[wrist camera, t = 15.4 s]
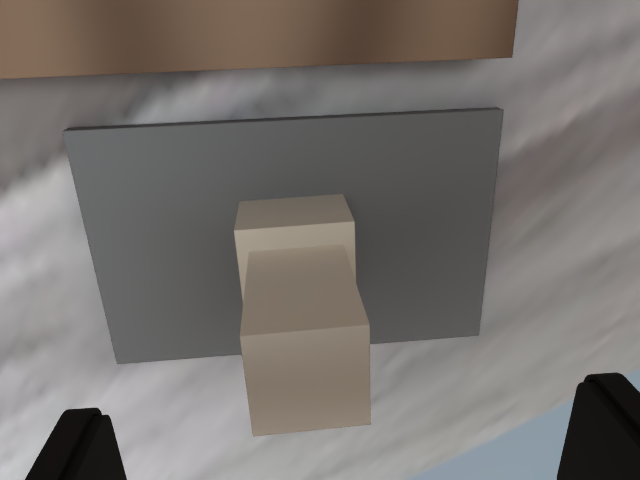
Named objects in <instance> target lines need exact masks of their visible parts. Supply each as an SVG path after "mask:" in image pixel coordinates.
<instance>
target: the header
mask: <svg viewBox="0 0 640 480" xmlns="http://www.w3.org/2000/svg"><path fill="white" fill-rule="evenodd" d="M518 1H519V0H0V79H7V78H31V77H55V76H79V75H104V74H128V73H152V72H176V71H200V70H224V69H248V68H272V67H296V66H320V65H345V64H369V63H393V62H417V61H441V60H465V59H489V58H512V55H513V46H514V37H515V28H516V19H517V10H518Z"/></svg>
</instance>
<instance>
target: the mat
mask: <svg viewBox="0 0 640 480" xmlns="http://www.w3.org/2000/svg"><path fill="white" fill-rule="evenodd" d="M502 119H503V109H500V108H497V107H494V108H473V109H453V110H432V111H411V112H391V113H370V114H349V115H328V116H308V117H287V118H266V119H246V120H225V121H204V122H183V123H163V124H142V125H121V126H101V127H80V128H68V129H66V130H64V131H62V133H63V137H64V141H65V145H66V150H67V154H68V158H69V162H70V167H71V171H72V175H73V179H74V184H75V188H76V192H77V196H78V201H79V205H80V209H81V213H82V218H83V222H84V226H85V230H86V234H87V239H88V243H89V247H90V251H91V256H92V260H93V264H94V268H95V273H96V277H97V281H98V285H99V290H100V294H101V298H102V302H103V307H104V311H105V315H106V319H107V324H108V328H109V332H110V336H111V341H112V345H113V349H114V353H115V358H116V362H117V364H126V363H139V362H151V361H164V360H176V359H189V358H201V357H214V356H227V355H239V354H242V350H241V342H240V329H241V319H242V310H243V299H242V291H241V283H240V275H239V267H238V259H237V251H236V243H235V235H234V228H235V222H236V217H237V212H238V206H239V201H251V200H265V199H279V198H292V197H306V196H320V195H334V194H343V195H344V197H345V200H346V202H347V205H348V207H349V209H350V212H351V214H352V216H353V219H354V221H355V262H356V284H357V288H358V291H359V294H360V297H361V300H362V303H363V306H364V309H365V312H366V315H367V318H368V321H369V324H370V344H378V343H390V342H403V341H415V340H428V339H440V338H453V337H466V336H478V335H479V329H480V320H481V311H482V302H483V293H484V284H485V275H486V266H487V256H488V247H489V238H490V229H491V220H492V211H493V202H494V192H495V183H496V174H497V165H498V156H499V147H500V138H501V129H502Z"/></svg>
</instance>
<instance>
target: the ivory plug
mask: <svg viewBox="0 0 640 480" xmlns="http://www.w3.org/2000/svg"><path fill="white" fill-rule="evenodd" d="M234 235H235V243H236V251H237V259H238V267H239V275H240V283H241V291H242V299H243V310H242V319H241V329H240V342H241V350H242V357H243V365H244V373H245V380H246V388H247V395H248V403H249V410H250V418H251V426H252V433H253V436H262V435H272V434H282V433H291V432H301V431H311V430H321V429H331V428H341V427H350V426H360V425H370V424H371V414H370V324H369V321H368V318H367V315H366V312H365V309H364V306H363V303H362V300H361V297H360V294H359V291H358V288H357V284H356V262H355V221H354V219H353V216H352V214H351V212H350V209H349V207H348V205H347V202H346V200H345V197H344V195H343V194H334V195H320V196H306V197H292V198H279V199H265V200H251V201H239V206H238V212H237V217H236V222H235V228H234Z"/></svg>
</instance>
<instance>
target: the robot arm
mask: <svg viewBox="0 0 640 480" xmlns="http://www.w3.org/2000/svg"><path fill="white" fill-rule="evenodd" d="M25 480H127V479H126V475H125V471H124V467H123V463H122V460H121V456H120V452H119V448H118V445H117V441H116V437H115V433H114V429H113V426H112V422H111V419H110V416H109V415H102V413H101V411H100V410H99V409H98V408H84V409H69V410H66V411H64V412H63V414H62V415H61V417H60V419H59V420H58V422H57V424H56V426H55V427H54V429H53V431H52V433H51V434H50V436H49V438H48V440H47V441H46V443H45V445H44V447H43V449H42V450H41V452H40V454H39V456H38V457H37V459H36V461H35V463H34V464H33V466H32V468H31V470H30V472H29V473H28V475H27V477H26V479H25ZM557 480H640V392H639V391H638V390H637V389H636V388H635V387H634V386H633V385H632V384H631V383H630V382H629V381H628V380H627V379H626V378H625V377H624V376H623V375H622V374H620V373H603V374H590V375H587V376H586V377H585V380H584V382H582V383H579V384H578V386H577V389H576V394H575V398H574V403H573V407H572V412H571V417H570V421H569V425H568V429H567V434H566V438H565V443H564V447H563V452H562V456H561V461H560V465H559V470H558V474H557Z"/></svg>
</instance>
